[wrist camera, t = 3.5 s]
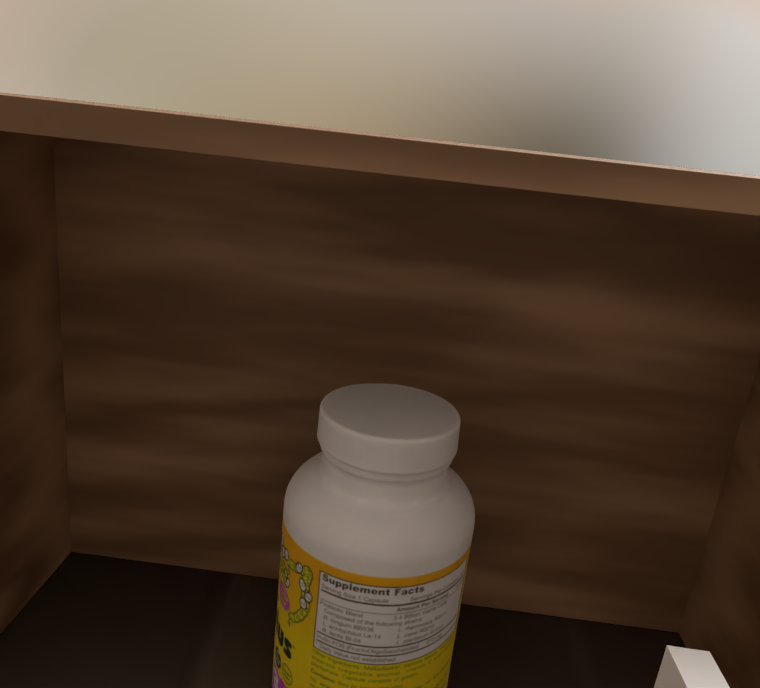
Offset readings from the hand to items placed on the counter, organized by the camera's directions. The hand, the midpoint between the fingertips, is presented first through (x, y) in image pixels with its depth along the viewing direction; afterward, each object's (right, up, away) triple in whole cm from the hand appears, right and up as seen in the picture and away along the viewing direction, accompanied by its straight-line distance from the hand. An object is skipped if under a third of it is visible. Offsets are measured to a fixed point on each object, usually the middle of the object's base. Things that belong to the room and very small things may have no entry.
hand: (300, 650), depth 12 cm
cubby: (+1, -8, +15) cm, 17 cm away
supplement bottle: (0, -9, +14) cm, 16 cm away
